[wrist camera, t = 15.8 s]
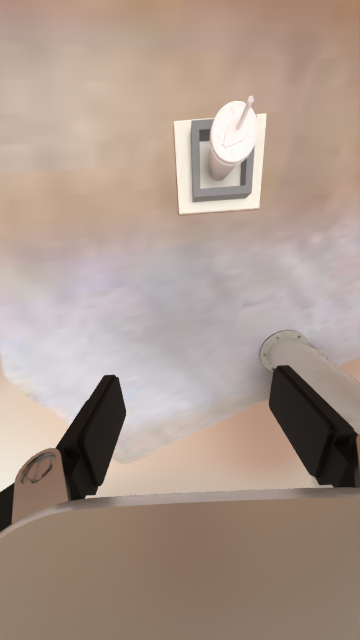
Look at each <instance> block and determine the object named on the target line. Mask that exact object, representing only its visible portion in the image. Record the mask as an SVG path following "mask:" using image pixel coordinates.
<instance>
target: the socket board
mask: <svg viewBox="0 0 360 640" xmlns="http://www.w3.org/2000/svg"><path fill="white" fill-rule="evenodd" d="M255 115H256V118H257V122H258V135H257V140H256V143H255V145H254V147H253V149H252V151H251V153H250V154H249V156H248V157H247V158H246V159H245V160H244V161H243V162H241V163H239V164H238V165H236V167H235V168H234V169H233V170H232V171H231V172H230V173H229V174H228V175H227V176H226V177H225V178H224V179H223V180H221V181H216V180H214V179H212V178H211V176H210V173H209V163H210V152H211V147H210V130H211V127H212V124H213V121H214V119H215V118H207V119H195V120H183V121H174V133H175V151H176V168H177V185H178V203H179V215H187V214H201V213H214V212H228V211H241V210H255V209H258V208H259V202H260V189H261V177H262V164H263V152H264V139H265V127H266V114H255Z"/></svg>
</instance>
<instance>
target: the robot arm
mask: <svg viewBox="0 0 360 640" xmlns="http://www.w3.org/2000/svg"><path fill="white" fill-rule="evenodd" d="M319 354H324V349H322V348H320V349H314V348H312V347H311V346H309V343H308V341H307V339H306V338H305V337H304V336H303V335H301V334H300V333H298V332H295V331H282V332H278V333H276V334H274V335H272V336H271V337H270V338H268V339H267V340H266V341H265V343H264V344H263V346H262V348H261V351H260V359H261V362H262V364H263V365H264V366H265V368H266V369H268V370H269V371H271V372H273V378H272V385H271V392H270V399H269V407H270V410H271V411H272V413H273V415H274V416H275V418H276V420H277V421H278V423H279V424H280V426H281V428H282V430H283V431H284V433H285V434H286V436H287V438H288V439H289V441H290V443H291V444H292V446H293V448H294V449H295V451H296V453H297V454H298V456H299V458H300V459H301V461H302V463H303V464H304V466H305V468H306V469H307V471H308V472H309V477H310V482H311V484H312V487H313V488H295V489H266V490H240V491H216V492H193V493H171V494H151V495H131V496H115V497H101V498H88V499H85V497H86V495H96V492H97V489H98V486H101V485H102V483H103V481H104V478H105V475H106V472H107V469H108V467H109V463H110V461H111V458H112V455H113V452H114V449H115V446H116V443H117V440H118V437H119V434H120V431H121V428H122V426H123V423H124V420H125V417H126V409H125V404H124V400H123V395H122V391H121V387H120V382H119V378H118V377H116V376H115V375H105V376H103V378H102V379H101V381H100V383H99V384H98V386H97V387H96V389H95V390H94V392H93V393H92V395H91V397H90V398H89V400H87V401H86V402H85V404H84V405H83V407H82V408H81V410H80V411H79V413H78V414H77V416H76V418H75V419H74V421H73V422H72V424H71V425H70V427H69V428H68V430H67V431H66V433H65V434H64V436H63V437H62V439H61V440H60V442H59V444H58V445H57V447H56V448H49V449H45V450H43V451H41V452H39V453H37V454H36V455H35V456H33V457H31V458H30V459H29V460H28V461H27V462H26V463H25V464H24V465H23V466H22V468H21V469H20V470H19V472H18V474H17V476H16V479H15V483H13V484H12V485H10V486H9V487H7V488H6V489H4V490H3V491H1V492H0V640H360V382H359V381H358V380H356V379H355V378H353V377H352V376H350V375H349V374H347V373H346V372H344V371H343V370H341V369H340V368H338V367H337V366H336V365H334V364H333V363H331V362H330V361H328V359H327V357H326V356H321V355H319Z"/></svg>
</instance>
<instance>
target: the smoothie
mask: <svg viewBox="0 0 360 640" xmlns="http://www.w3.org/2000/svg"><path fill="white" fill-rule="evenodd" d="M252 102H253V97H252V96H250V97H249V99H248V101H247V103H244V102H241V101H233V102H230V103H228V104H226V105H225V106H223V107H222V108H221V109H220V110H219V112H218V113H217V115H216V117H215V119H214V121H213V124H212V127H211V130H210V147H211V152H210V163H209V173H210V176H211V178H212V179H214V180H216V181H221V180H223V179H224V178H225V177H226V176H227V175H228V174H229V173H230V172H231V171H232V170H233V169H234V168H235V167H236V165H238V164H239V163H241V162H243V161H244V160H245V159H246V158H247V157H248V156H249V154H250V153H251V151H252V149H253V147H254V145H255V143H256V140H257V135H258V122H257V118H256V115H255V113H254V111H253V109H252V108H251V104H252Z"/></svg>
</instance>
